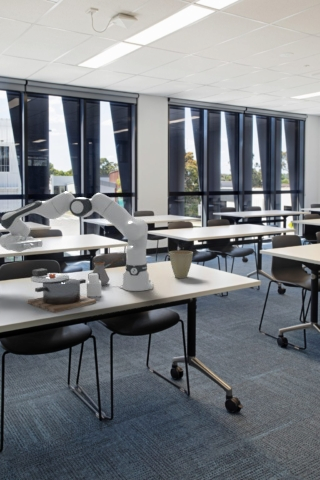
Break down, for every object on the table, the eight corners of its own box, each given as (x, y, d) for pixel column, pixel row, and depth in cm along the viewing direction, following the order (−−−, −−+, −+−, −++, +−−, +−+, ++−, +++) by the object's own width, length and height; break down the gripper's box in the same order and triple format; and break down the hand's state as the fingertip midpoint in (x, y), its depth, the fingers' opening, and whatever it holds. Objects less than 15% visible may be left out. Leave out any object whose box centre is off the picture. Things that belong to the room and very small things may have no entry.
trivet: (27, 303, 228) (27, 300, 228) (68, 294, 245) (68, 291, 245) (55, 312, 211) (54, 309, 211) (96, 302, 228) (96, 299, 228)
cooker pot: (27, 302, 224) (26, 284, 223) (74, 292, 244) (73, 275, 243) (47, 309, 212) (46, 290, 211) (95, 297, 232) (95, 280, 231)
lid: (21, 278, 235) (20, 271, 235) (52, 272, 249) (52, 266, 248) (44, 284, 220) (43, 277, 220) (76, 278, 234) (76, 272, 233)
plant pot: (193, 279, 281) (193, 254, 279) (169, 279, 282) (169, 254, 280) (192, 274, 296) (192, 250, 294) (169, 274, 296) (169, 250, 294)
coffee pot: (94, 287, 261) (93, 261, 259) (86, 283, 271) (86, 258, 269) (127, 283, 272) (127, 258, 270) (119, 279, 282) (119, 255, 280)
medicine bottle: (88, 293, 247) (87, 271, 246) (101, 293, 248) (101, 271, 246) (87, 296, 240) (86, 274, 238) (100, 296, 241) (100, 274, 239)
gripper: (0, 239, 245) (13, 242, 236) (34, 236, 260) (47, 238, 250) (0, 251, 246) (13, 254, 236) (34, 247, 260) (47, 249, 251)
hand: (31, 246), depth 243 cm, fingers closed
